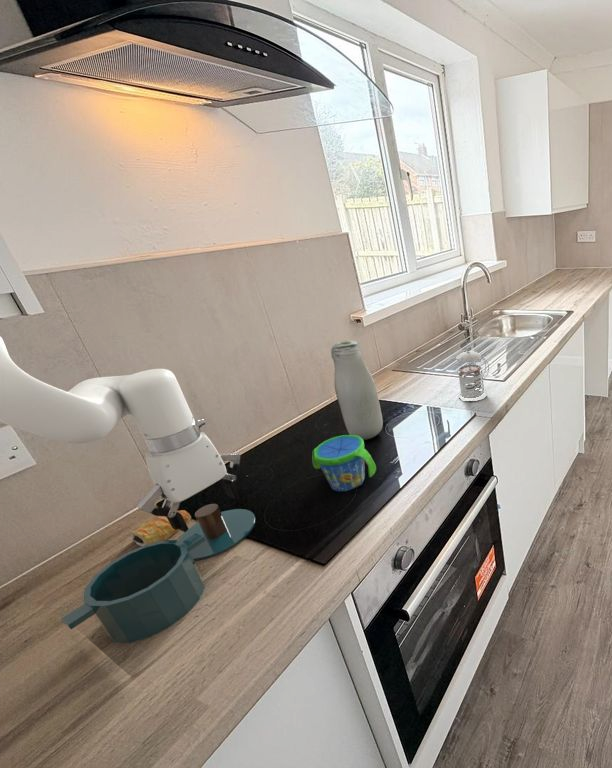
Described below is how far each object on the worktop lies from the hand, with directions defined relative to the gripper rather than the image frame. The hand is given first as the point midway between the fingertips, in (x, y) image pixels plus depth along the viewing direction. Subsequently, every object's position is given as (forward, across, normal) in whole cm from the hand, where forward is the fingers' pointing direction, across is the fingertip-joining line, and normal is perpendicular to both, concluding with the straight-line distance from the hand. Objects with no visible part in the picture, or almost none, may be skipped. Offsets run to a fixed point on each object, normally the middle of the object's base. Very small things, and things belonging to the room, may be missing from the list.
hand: (209, 512), depth 81 cm
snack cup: (+6, -23, +12) cm, 26 cm away
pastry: (+6, +5, -12) cm, 14 cm away
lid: (+5, 0, 0) cm, 5 cm away
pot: (+6, +14, +8) cm, 17 cm away
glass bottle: (+6, -41, 0) cm, 41 cm away
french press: (+7, -75, +15) cm, 76 cm away
